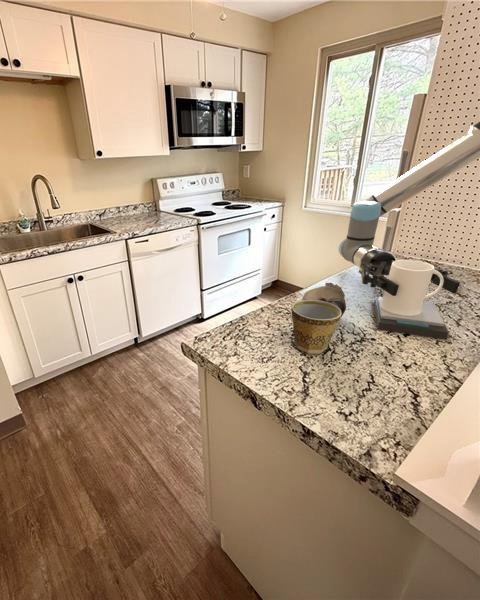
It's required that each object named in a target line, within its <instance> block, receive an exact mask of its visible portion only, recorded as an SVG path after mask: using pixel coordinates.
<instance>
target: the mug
mask: <svg viewBox="0 0 480 600" xmlns="http://www.w3.org/2000/svg"><path fill="white" fill-rule="evenodd" d="M434 268H436V267H435V265H433V264H431V263H428V262H425V261H421V260H415V259H397V260H396V261H394V262H392V265H391V269H390V273H389V275H387V279H389V280H390V281H392V282H394V283H395V284H397V285H399V287H398V291H397V294H396V296H392V295H391V294H389V293H388V292H386V291H385V290H384V291H383V292H384V293H383V295H382V297H383V299H382V302H381V303H380V307H381V308H382V309H383V310H385V311H387V312H389V313H392V314H396V315H402V316H416V315H419V314H421V312H422V305H423V302H425V300H426V299H429V298H431V297H433V296H436V294H437V293H439V292H440V291H441V290H442V289H443V288H442V286H443V282H444V279H443V276H442V274H441V273H440V272H438V271H437V270H434ZM432 274H436V275H438V276H439V278H440V284H439V286H437V288H435V290H434V291H432V292H429V293H428V289H429V287H430V284H431V281H430V280H431V277H432Z"/></svg>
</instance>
